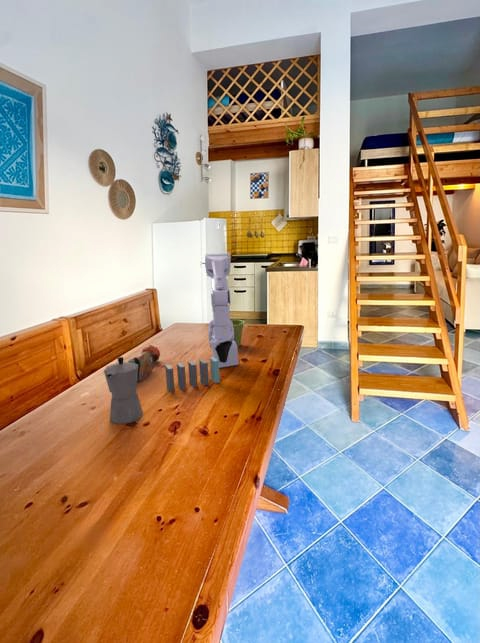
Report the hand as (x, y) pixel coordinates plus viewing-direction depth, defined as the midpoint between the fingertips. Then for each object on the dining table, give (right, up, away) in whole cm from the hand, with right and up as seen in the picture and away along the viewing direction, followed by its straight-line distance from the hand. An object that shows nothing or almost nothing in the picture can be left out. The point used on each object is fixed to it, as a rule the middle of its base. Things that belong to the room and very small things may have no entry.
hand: (223, 361), depth 134 cm
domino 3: (-10, -8, -3) cm, 13 cm away
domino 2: (-14, -8, -4) cm, 17 cm away
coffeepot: (-26, -13, -23) cm, 38 cm away
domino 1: (-18, -9, -6) cm, 20 cm away
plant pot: (+2, +3, +41) cm, 41 cm away
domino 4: (-7, -7, -1) cm, 10 cm away
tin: (-30, -6, +7) cm, 32 cm away
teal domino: (-3, -7, 0) cm, 7 cm away
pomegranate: (-30, -3, +22) cm, 37 cm away
